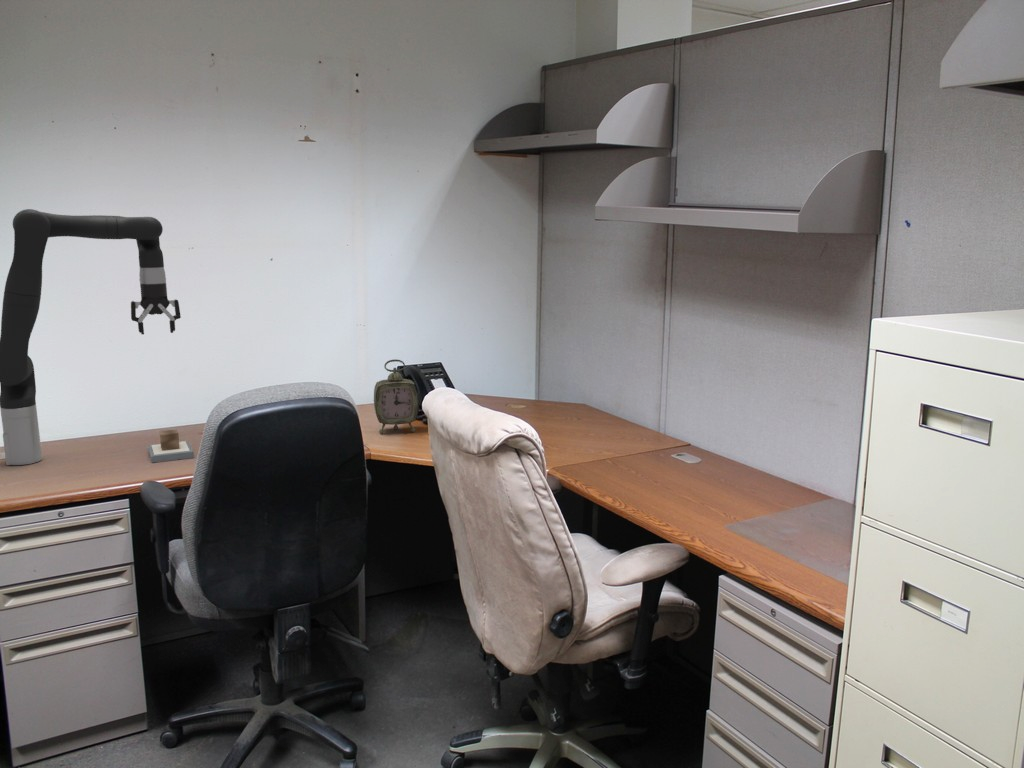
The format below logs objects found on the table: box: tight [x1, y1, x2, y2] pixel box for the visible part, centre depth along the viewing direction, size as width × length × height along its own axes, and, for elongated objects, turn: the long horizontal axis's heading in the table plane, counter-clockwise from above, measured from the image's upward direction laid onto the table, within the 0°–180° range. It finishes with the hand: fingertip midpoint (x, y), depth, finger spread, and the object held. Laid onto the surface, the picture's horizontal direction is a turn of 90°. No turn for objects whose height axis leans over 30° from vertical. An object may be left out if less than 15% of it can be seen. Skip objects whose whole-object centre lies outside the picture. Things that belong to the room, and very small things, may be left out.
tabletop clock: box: [373, 359, 419, 435], centre depth 286 cm, size 14×9×25 cm, turn 104°
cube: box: [159, 429, 180, 451], centre depth 259 cm, size 5×5×5 cm
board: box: [147, 440, 195, 463], centre depth 260 cm, size 12×14×2 cm
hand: (157, 333), depth 265 cm, fingers open, 8 cm apart
